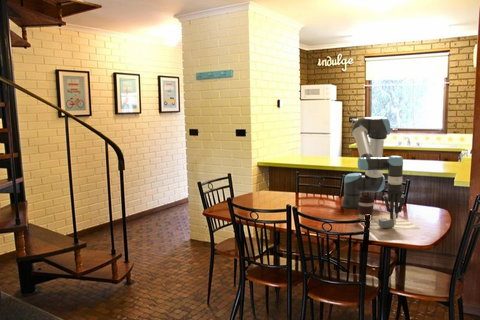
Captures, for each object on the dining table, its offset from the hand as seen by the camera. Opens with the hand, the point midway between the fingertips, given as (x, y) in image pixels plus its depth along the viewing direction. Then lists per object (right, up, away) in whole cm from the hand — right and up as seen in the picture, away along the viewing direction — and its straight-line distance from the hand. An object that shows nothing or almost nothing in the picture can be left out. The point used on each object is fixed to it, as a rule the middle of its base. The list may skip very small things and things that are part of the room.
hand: (393, 224), depth 227 cm
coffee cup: (-9, -1, +21) cm, 23 cm away
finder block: (-4, -2, 0) cm, 5 cm away
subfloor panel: (0, -3, +6) cm, 7 cm away
